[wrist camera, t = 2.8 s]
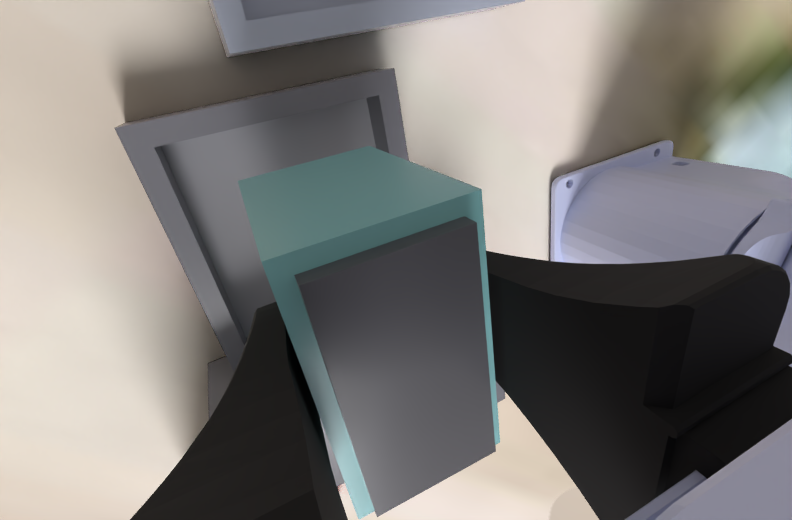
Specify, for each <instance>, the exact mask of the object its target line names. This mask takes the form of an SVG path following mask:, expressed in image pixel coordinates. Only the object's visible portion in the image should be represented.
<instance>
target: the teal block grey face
mask: <svg viewBox="0 0 792 520" xmlns="http://www.w3.org/2000/svg"><path fill="white" fill-rule="evenodd" d="M238 184H239V188H240V191H241V195H242V198H243V201H244V205H245V208H246V212H247V215H248V218H249V222H250V225H251V229H252V232H253V235H254V239H255V242H256V246H257V249H258V252H259V256H260V259H261V262H262V265H263V268H264V270H265V273H266V276H267V278H268V281H269V284H270V286H271V289H272V291H273V294H274V297H275V299H276V302H277V305H278V307H279V310H280V313H281V315H282V318H283V321H284V323H285V326H286V328H287V331H288V334H289V336H290V339H291V342H292V344H293V347H294V350H295V352H296V355H297V357H298V360H299V363H300V365H301V368H302V371H303V373H304V376H305V379H306V381H307V384H308V387H309V389H310V392H311V394H312V397H313V400H314V402H315V405H316V408H317V410H318V413H319V416H320V418H321V421H322V424H323V426H324V429H325V431H326V434H327V437H328V439H329V442H330V445H331V447H332V450H333V453H334V455H335V458H336V460H337V463H338V466H339V468H340V471H341V474H342V476H343V479H344V482H345V484H346V487H347V490H348V492H349V495H350V497H351V500H352V503H353V505H354V508H355V511H356V513H357V516H358V519H361V518H363V517H365V516H366V515H368V514H370V513H372V512H374V511H375V512H376V515H377V517H378V516H380V515H382V514H383V513H385V512H387V511H389V510H391V509H392V508H394V507H396V506H398V505H400V504H401V503H403V502H405V501H407V500H409V499H410V498H412V497H414V496H416V495H418V494H419V493H421V492H423V491H425V490H427V489H428V488H430V487H432V486H434V485H436V484H437V483H439V482H441V481H443V480H445V479H447V478H448V477H450V476H452V475H454V474H456V473H457V472H459V471H461V470H463V469H465V468H466V467H468V466H470V465H472V464H474V463H475V462H477V461H479V460H481V459H483V458H484V457H486V456H488V455H490V454H492V453H493V452H495V451H496V448H495V445H496V444H498V443H499V442H500V435H499V422H498V408H497V395H496V381H495V367H494V354H493V340H492V327H491V313H490V300H489V286H488V272H487V259H486V245H485V232H484V218H483V205H482V191H481V189H479V188H477V187H474V186H472V185H469V184H467V183H464V182H461V181H459V180H456V179H454V178H451V177H449V176H446V175H443V174H441V173H438V172H436V171H433V170H431V169H428V168H425V167H423V166H420V165H418V164H415V163H413V162H410V161H407V160H405V159H402V158H400V157H397V156H395V155H392V154H389V153H387V152H384V151H382V150H379V149H377V148H374V147H371V146H366V147H362V148H359V149H355V150H351V151H347V152H344V153H340V154H336V155H332V156H329V157H325V158H321V159H318V160H314V161H310V162H306V163H303V164H299V165H295V166H291V167H288V168H284V169H280V170H276V171H273V172H269V173H265V174H261V175H258V176H254V177H250V178H247V179H243V180H239V181H238Z"/></svg>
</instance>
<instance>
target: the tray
mask: <svg viewBox="0 0 792 520" xmlns="http://www.w3.org/2000/svg"><path fill="white" fill-rule="evenodd" d="M523 1H525V0H208V2H209V5H210V8H211V11H212V14H213V17H214V20H215V23H216V26H217V29H218V32H219V35H220V38H221V41H222V44H223V47H224V50H225V53H226V56H227V57H232V56H238V55H243V54H249V53H254V52H260V51H265V50H271V49H276V48H282V47H287V46H293V45H298V44H304V43H310V42H315V41H321V40H326V39H332V38H337V37H343V36H348V35H354V34H359V33H365V32H370V31H376V30H381V29H387V28H392V27H398V26H403V25H409V24H414V23H420V22H425V21H431V20H437V19H442V18H448V17H453V16H459V15H464V14H470V13H475V12H481V11H486V10H492V9H496V8H500V7H504V6H508V5H512V4H515V3H519V2H523Z"/></svg>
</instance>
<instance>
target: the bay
mask: <svg viewBox="0 0 792 520" xmlns="http://www.w3.org/2000/svg"><path fill="white" fill-rule="evenodd" d="M115 130H116V132H117V134H118V136H119V138H120V140H121V142H122V144H123V146H124V148H125V150H126V152H127V155H128V157H129V159H130V161H131V163H132V165H133V167H134V169H135V171H136V173H137V175H138V177H139V179H140V181H141V183H142V185H143V187H144V189H145V191H146V193H147V195H148V197H149V199H150V201H151V204H152V206H153V208H154V210H155V212H156V214H157V216H158V218H159V220H160V222H161V224H162V226H163V228H164V230H165V232H166V234H167V236H168V238H169V240H170V242H171V244H172V246H173V248H174V250H175V253H176V255H177V257H178V259H179V261H180V263H181V265H182V267H183V269H184V271H185V273H186V275H187V277H188V279H189V281H190V283H191V285H192V287H193V289H194V291H195V293H196V295H197V297H198V299H199V302H200V304H201V306H202V308H203V310H204V312H205V314H206V316H207V318H208V320H209V322H210V324H211V326H212V328H213V330H214V332H215V334H216V336H217V338H218V340H219V342H220V344H221V346H222V348H223V351H224V353H225V355H226V357H223V358H221V359H218V360H215V361H213V362H210V363H208V404H209V419H210V417H211V416H212V414H213V412H214V410H215V409H216V407H217V405H218V404H219V402H220V400H221V398H222V396H223V394H224V392H225V391H226V389H227V387H228V384H229V382H230V380H231V378H232V376H233V374H234V371H235V369H236V367H237V365H238V362H239V360H240V358H241V355H242V352H243V349H244V347H245V344H246V341H247V338H248V335H249V332H250V329H251V325H252V321H253V317H254V313H255V311H256V310H257V308H260V307H263V306H265V305H268V304H271V303H274V302H276V299H275V297H274V294H273V291H272V289H271V286H270V284H269V281H268V278H267V276H266V273H265V270H264V268H263V265H262V262H261V259H260V256H259V252H258V249H257V246H256V242H255V239H254V235H253V232H252V229H251V225H250V222H249V218H248V215H247V212H246V208H245V205H244V201H243V198H242V195H241V191H240V188H239V184H238V181H239V180H243V179H247V178H250V177H254V176H258V175H261V174H265V173H269V172H273V171H276V170H280V169H284V168H288V167H291V166H295V165H299V164H303V163H306V162H310V161H314V160H318V159H321V158H325V157H329V156H332V155H336V154H340V153H344V152H347V151H351V150H355V149H359V148H362V147H366V146H371V147H374V148H377V149H379V150H382V151H384V152H387V153H389V154H392V155H395V156H397V157H400V158H402V159H405V160H407V161H409V159H408V153H407V146H406V140H405V134H404V127H403V121H402V115H401V108H400V102H399V96H398V89H397V83H396V77H395V70H394V68H391V69H378V70H372V71H368V72H363V73H358V74H353V75H349V76H344V77H339V78H334V79H330V80H325V81H320V82H316V83H311V84H306V85H301V86H297V87H292V88H287V89H283V90H278V91H273V92H268V93H264V94H259V95H254V96H250V97H245V98H240V99H235V100H231V101H226V102H221V103H217V104H212V105H207V106H202V107H198V108H193V109H188V110H184V111H179V112H174V113H169V114H165V115H160V116H155V117H151V118H146V119H141V120H136V121H132V122H127V123H124V124H122V125H120V126H118V127H116V128H115ZM496 395H497V403H498V402H499V401H501V400H503V399H505V391H504V390H503V389H502V388H501V386H500V385H499V384H498V383H497V382H496ZM320 420H321V418H320ZM321 424H322V421H321ZM322 429H323V433H324V438H325V442H326V446H327V451H328V455H329V460H330V464H331V468H332V472H333V475H334V479H335V483H336V486H339V485H341V484H343V483H345V482H344V479H343V476H342V474H341V471H340V468H339V466H338V463H337V460H336V458H335V455H334V453H333V450H332V447H331V445H330V442H329V439H328V437H327V434H326V431H325V429H324V426H323V424H322Z"/></svg>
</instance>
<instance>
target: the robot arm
mask: <svg viewBox="0 0 792 520" xmlns="http://www.w3.org/2000/svg"><path fill="white" fill-rule="evenodd" d="M672 153H673V142H672V141H671V140H663V141H660V142H657V143H654V144H651V145H648V146H646V147H643V148H640V149H637V150H634V151H631V152H628V153H625V154H622V155H620V156H617V157H614V158H611V159H608V160H605V161H602V162H599V163H596V164H594V165H591V166H588V167H585V168H582V169H579V170H576V171H573V172H570V173H568V174H565V175H562V176H559V177H557V178H556V179H555V180H554V181H553V183H552V187H551V261H545V260H536V259H530V258H523V257H516V256H510V255H505V254H499V253H494V252H489V251H486V259H487V272H488V286H489V300H490V313H491V327H492V340H493V354H494V367H495V381H496V382H497V383H498V384H499V385H500V386H501V388H502V389H503V390H504V391H505V392H506V393H507V394H508V395H509V397H510V398H511V399H512V400H513V402H514V403H515V404H516V405H517V407H518V408H519V409H520V410H521V412H522V413H523V414H524V415H525V417H526V418H527V419H528V420H529V422H530V423H531V424H532V426H533V427H534V428H535V430H536V431H537V432H538V434H539V435H540V436H541V438H542V439H543V440H544V442H545V443H546V444H547V446H548V447H549V448H550V449H551V451H552V452H553V454H554V455H555V456H556V458H557V459H558V461H559V462H560V463H561V465H562V466H563V468H564V469H565V470H566V472H567V473H568V475H569V476H570V477H571V479H572V480H573V482H574V483H575V484H576V486H577V487H578V489H579V490H580V491H581V493H582V494H583V496H584V497H585V499H586V500H587V502H588V503H589V505H590V506H591V508H592V509H593V511H594V512H595V514H596V515H597V516H598V518H599V520H792V178H790V177H787V176H785V175H782V174H779V173H775V172H771V171H765V170H758V169H752V168H745V167H739V166H732V165H726V164H719V163H713V162H706V161H700V160H694V159H687V158H681V157H674V156H672ZM567 181H568V183H567ZM566 183H567V185H566ZM130 520H348V519H347V516H346V513H345V510H344V507H343V504H342V501H341V498H340V495H339V492H338V489H337V486H336V483H335V479H334V475H333V472H332V468H331V464H330V460H329V455H328V451H327V446H326V442H325V438H324V433H323V429H322V424H321V420H320V416H319V413H318V410H317V408H316V405H315V402H314V400H313V397H312V394H311V392H310V389H309V387H308V384H307V381H306V379H305V376H304V373H303V371H302V368H301V365H300V363H299V360H298V357H297V355H296V352H295V350H294V347H293V344H292V342H291V339H290V336H289V334H288V331H287V328H286V326H285V323H284V321H283V318H282V315H281V313H280V310H279V307H278V305H277V302H274V303H271V304H268V305H265V306H263V307H260V308H257V310H256V311H255V313H254V317H253V321H252V325H251V329H250V332H249V335H248V338H247V341H246V344H245V347H244V349H243V352H242V355H241V358H240V360H239V362H238V365H237V367H236V369H235V371H234V374H233V376H232V378H231V380H230V382H229V384H228V387H227V389H226V391H225V392H224V394H223V396H222V398H221V400H220V402H219V404H218V405H217V407H216V409H215V410H214V412H213V414H212V416H211V417H210V419H209V421H208V422H207V424H206V425H205V427H204V428H203V429H202V431H201V432H200V434H199V435H198V436H197V438H196V439H195V441H194V442H193V443H192V445H191V446H190V448H189V449H188V450H187V452H186V453H185V455H184V456H183V458H182V459H181V460H180V461H179V463H178V464H177V465H176V467H175V468H174V469H173V470H172V471H171V473H170V474H169V475H168V476H167V478H166V479H165V480H164V481H163V483H162V484H161V485H160V486H159V487H158V488H157V490H156V491H155V492H154V493H153V494H152V495H151V497H150V498H149V499H148V500H147V501H146V502H145V504H144V505H143V506H142V507H141V508H140V509H139V510H138V511H137V513H136V514H135V515H134V516H133V517H132V518H131V519H130Z"/></svg>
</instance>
